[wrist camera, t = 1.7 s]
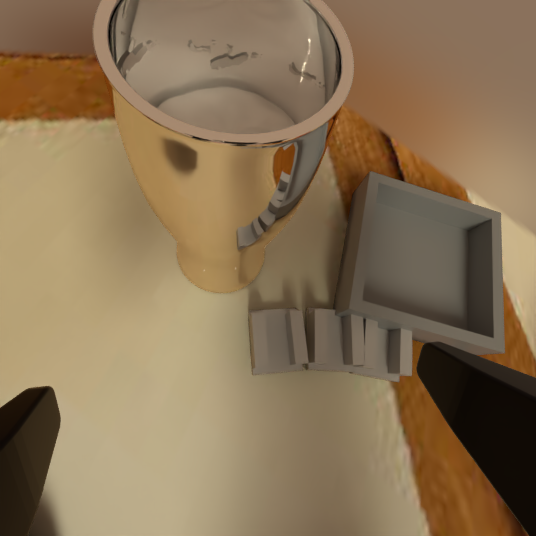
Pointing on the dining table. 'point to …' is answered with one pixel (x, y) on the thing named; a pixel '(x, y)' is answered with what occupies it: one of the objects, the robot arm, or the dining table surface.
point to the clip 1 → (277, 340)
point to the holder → (423, 265)
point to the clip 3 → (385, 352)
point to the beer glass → (223, 117)
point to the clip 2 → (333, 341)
